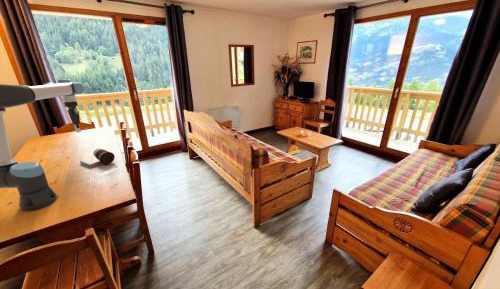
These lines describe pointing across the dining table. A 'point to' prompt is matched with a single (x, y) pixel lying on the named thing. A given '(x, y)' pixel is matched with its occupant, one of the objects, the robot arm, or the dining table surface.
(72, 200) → the dining table surface
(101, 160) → the coffee cup
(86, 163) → the keeper tray
